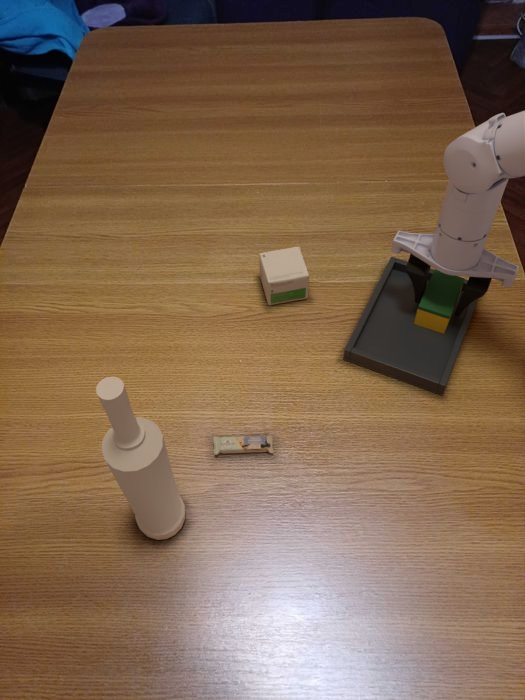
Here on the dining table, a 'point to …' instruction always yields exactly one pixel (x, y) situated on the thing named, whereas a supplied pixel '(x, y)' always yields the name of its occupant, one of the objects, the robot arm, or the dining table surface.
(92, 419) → the dining table surface
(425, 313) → the sponge
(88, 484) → the dining table surface
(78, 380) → the dining table surface
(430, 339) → the tray
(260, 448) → the granola bar
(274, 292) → the small box
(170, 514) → the bottle
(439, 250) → the robot arm
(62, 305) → the dining table surface
